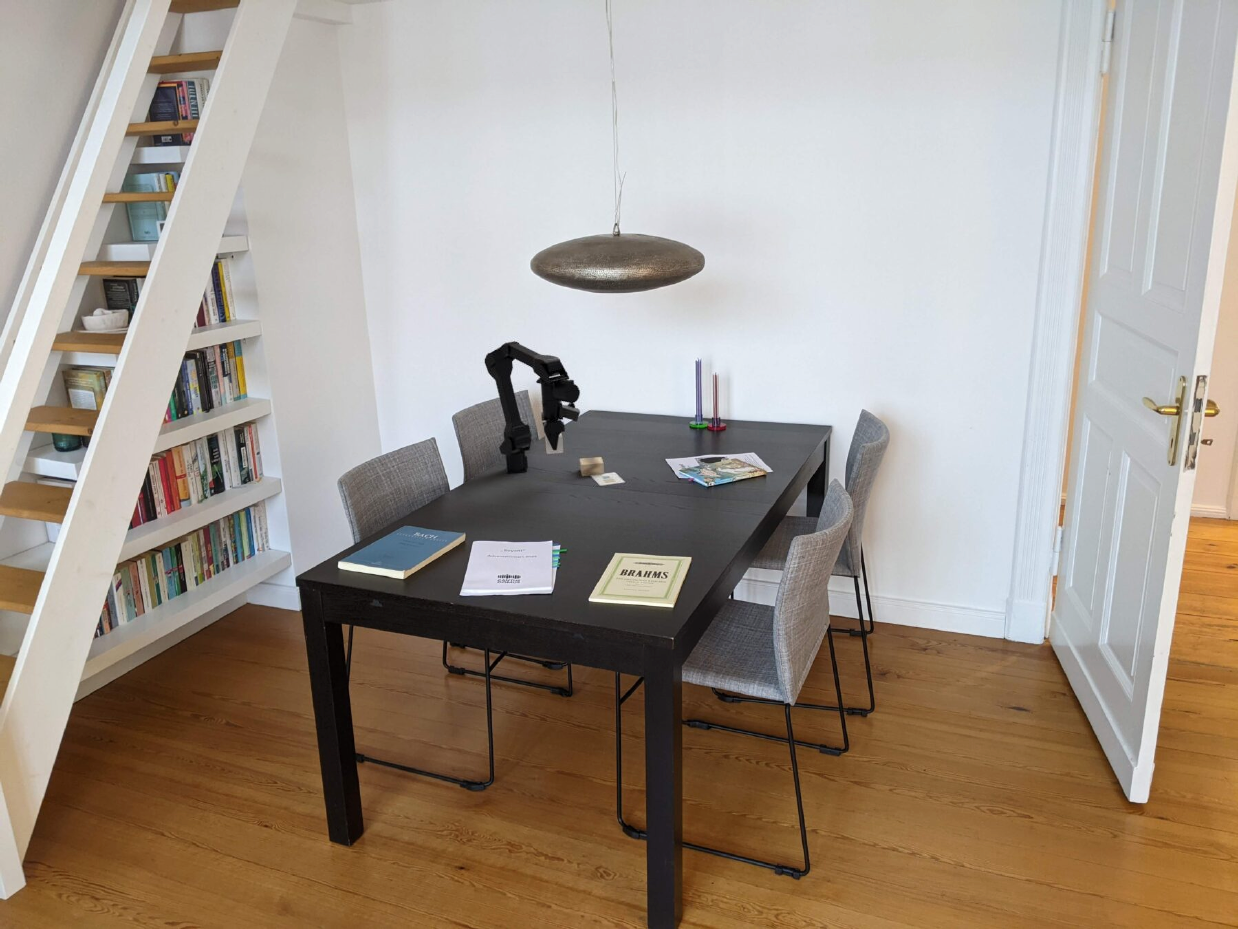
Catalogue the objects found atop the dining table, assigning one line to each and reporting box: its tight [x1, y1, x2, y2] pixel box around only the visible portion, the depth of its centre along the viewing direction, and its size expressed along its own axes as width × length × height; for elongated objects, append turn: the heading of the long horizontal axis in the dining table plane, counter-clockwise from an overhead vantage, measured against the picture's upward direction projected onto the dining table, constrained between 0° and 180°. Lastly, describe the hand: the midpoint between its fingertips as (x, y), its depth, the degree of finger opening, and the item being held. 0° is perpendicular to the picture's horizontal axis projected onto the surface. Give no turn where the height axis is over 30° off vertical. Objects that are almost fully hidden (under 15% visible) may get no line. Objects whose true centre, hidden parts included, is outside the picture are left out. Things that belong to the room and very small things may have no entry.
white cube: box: [544, 432, 564, 455], centre depth 293 cm, size 5×5×5 cm
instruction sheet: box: [590, 472, 626, 487], centre depth 296 cm, size 8×11×1 cm
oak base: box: [579, 456, 605, 477], centre depth 304 cm, size 7×7×4 cm
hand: (554, 447), depth 293 cm, fingers closed on white cube, 5 cm apart
